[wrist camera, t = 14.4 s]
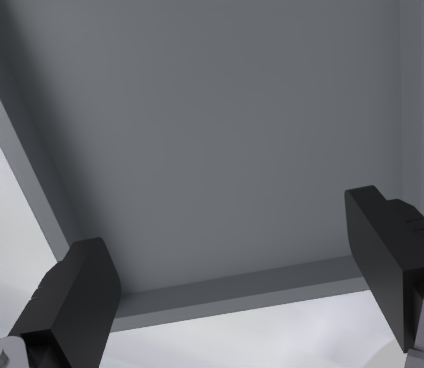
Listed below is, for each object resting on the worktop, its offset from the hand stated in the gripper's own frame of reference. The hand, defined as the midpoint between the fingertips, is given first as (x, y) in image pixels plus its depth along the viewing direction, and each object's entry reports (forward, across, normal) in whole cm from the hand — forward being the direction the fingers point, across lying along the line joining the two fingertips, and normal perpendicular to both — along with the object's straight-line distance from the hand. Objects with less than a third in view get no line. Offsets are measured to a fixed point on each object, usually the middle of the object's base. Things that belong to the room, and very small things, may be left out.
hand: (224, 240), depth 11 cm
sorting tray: (+10, 0, 0) cm, 10 cm away
